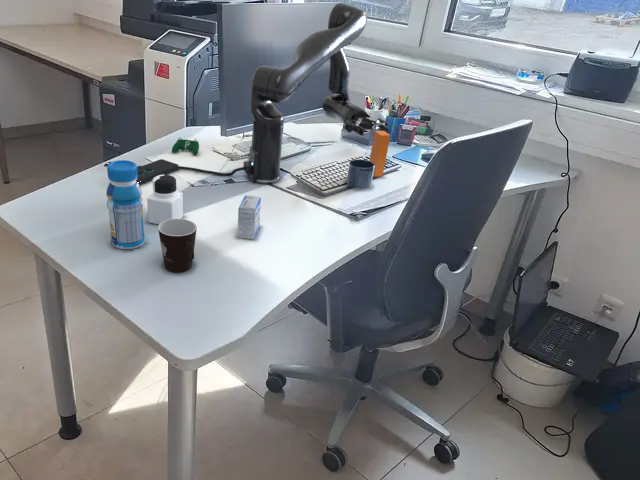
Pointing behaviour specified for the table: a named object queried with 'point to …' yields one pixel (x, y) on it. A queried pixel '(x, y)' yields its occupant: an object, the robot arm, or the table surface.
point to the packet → (379, 152)
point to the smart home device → (155, 170)
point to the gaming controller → (186, 145)
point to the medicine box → (249, 217)
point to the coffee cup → (360, 174)
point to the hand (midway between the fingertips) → (375, 132)
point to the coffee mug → (177, 244)
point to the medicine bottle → (164, 200)
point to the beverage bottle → (125, 205)
